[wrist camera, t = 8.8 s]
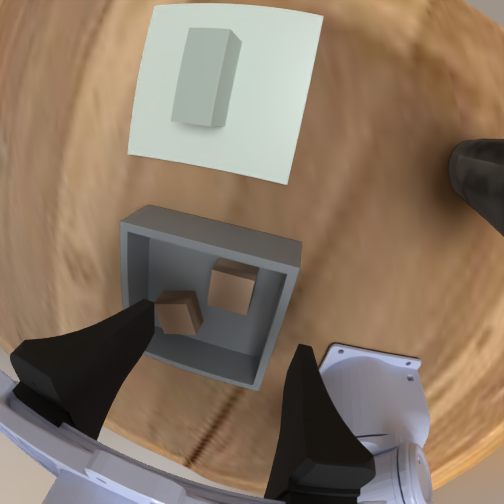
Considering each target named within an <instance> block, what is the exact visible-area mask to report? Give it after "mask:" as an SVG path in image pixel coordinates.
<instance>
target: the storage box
mask: <svg viewBox="0 0 504 504" xmlns="http://www.w3.org/2000/svg"><path fill="white" fill-rule="evenodd" d="M301 248H302V242H299V241H295V240H291V239H287V238H283V237H279V236H276V235H272V234H268V233H264V232H260V231H256V230H252V229H248V228H244V227H240V226H236V225H232V224H228V223H224V222H220V221H215V220H211V219H207V218H203V217H199V216H195V215H191V214H186V213H182V212H178V211H174V210H169V209H165V208H161V207H157V206H152V205H147V206H145V207H143V208H142V209H140V210H138V211H137V212H135V213H133V214H131V215H130V216H128V217H126V218H125V219H123V220H121V221H120V258H121V284H122V301H123V310H124V309H126V308H128V307H130V306H132V305H133V304H135V303H137V302H139V301H141V300H142V299H146V300H149V301H152V302H155V301H156V300H157V299H158V298H159V296H160V295H161V294H162V293H163V291H195V292H196V295H197V299H198V302H199V306H200V309H201V313H202V316H203V320H204V321H203V323H202V325H201V327H200V329H199V331H198V333H197V334H196V335H183V334H164V332H163V329H162V326H161V324H160V321H159V318H158V316H157V313H156V310H155V308H154V311H155V333H154V335H153V337H152V339H151V341H150V343H149V345H148V347H147V349H146V350H145V351H144V353H143V355H145V356H148V357H151V358H153V359H156V360H159V361H161V362H164V363H167V364H170V365H172V366H175V367H178V368H181V369H184V370H187V371H190V372H193V373H196V374H199V375H202V376H205V377H209V378H212V379H215V380H219V381H222V382H225V383H229V384H233V385H236V386H240V387H244V388H247V389H251V390H255V391H259V388H260V386H261V383H262V380H263V377H264V375H265V372H266V369H267V366H268V363H269V361H270V358H271V355H272V352H273V349H274V346H275V343H276V340H277V337H278V335H279V332H280V329H281V326H282V323H283V320H284V317H285V313H286V310H287V307H288V304H289V301H290V298H291V295H292V292H293V289H294V285H295V282H296V279H297V276H298V273H299V269H300V261H301ZM220 257H221V258H225V259H229V260H232V261H236V262H240V263H244V264H248V265H251V266H255V267H259V272H258V276H257V280H256V284H255V289H254V293H253V297H252V301H251V304H250V307H249V310H248V313H247V315H243V314H239V313H236V312H232V311H229V310H225V309H222V308H218V307H215V306H211V305H208V304H207V302H208V295H209V287H210V280H211V273H212V269H213V267H214V266H215V264H216V263H217V261H218V260H219V258H220Z"/></svg>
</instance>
